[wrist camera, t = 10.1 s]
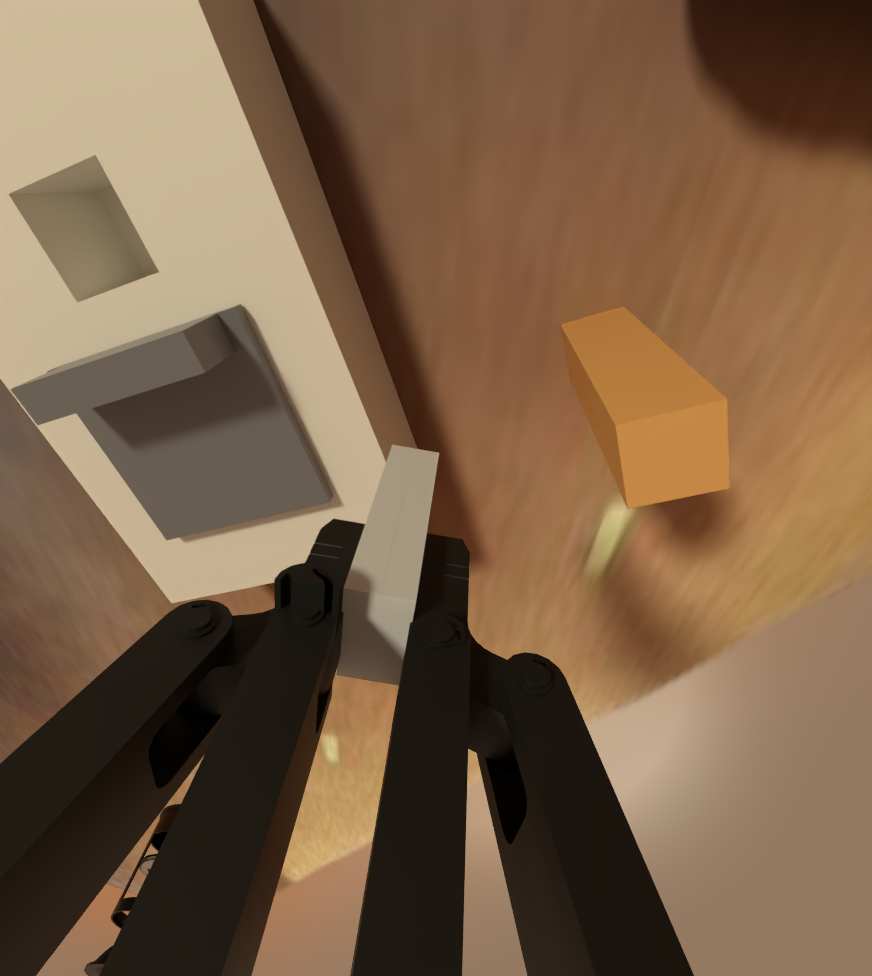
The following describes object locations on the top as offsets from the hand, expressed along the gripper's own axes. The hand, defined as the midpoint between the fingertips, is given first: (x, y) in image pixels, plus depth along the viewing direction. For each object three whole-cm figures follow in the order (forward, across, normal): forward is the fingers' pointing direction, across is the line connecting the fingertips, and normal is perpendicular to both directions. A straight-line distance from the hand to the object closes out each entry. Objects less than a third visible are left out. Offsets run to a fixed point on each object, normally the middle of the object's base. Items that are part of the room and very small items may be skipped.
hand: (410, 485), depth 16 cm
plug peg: (+21, +10, +1) cm, 23 cm away
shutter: (+12, -13, -7) cm, 19 cm away
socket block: (+21, -15, -3) cm, 26 cm away
